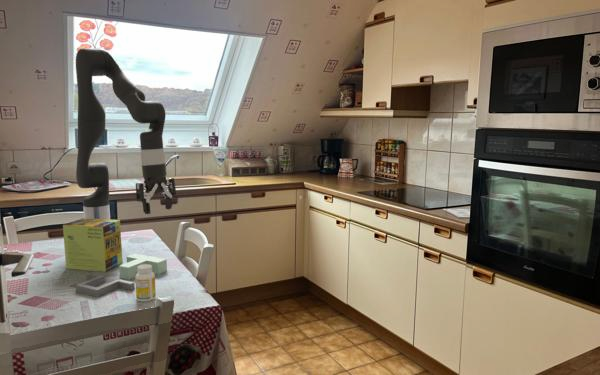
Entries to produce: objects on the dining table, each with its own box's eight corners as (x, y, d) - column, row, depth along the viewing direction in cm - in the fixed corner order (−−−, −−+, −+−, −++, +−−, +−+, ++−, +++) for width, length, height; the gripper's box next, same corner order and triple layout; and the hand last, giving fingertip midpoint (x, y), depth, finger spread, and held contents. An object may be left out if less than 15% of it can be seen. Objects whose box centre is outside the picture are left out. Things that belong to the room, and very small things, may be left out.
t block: (135, 264, 170) (135, 253, 169) (167, 270, 163) (166, 259, 163) (108, 275, 159) (107, 263, 158) (140, 282, 153) (140, 269, 152)
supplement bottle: (143, 303, 136) (141, 270, 135) (132, 298, 140) (130, 266, 138) (159, 297, 140) (158, 266, 139) (149, 293, 144) (147, 262, 142)
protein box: (106, 272, 162) (103, 226, 159) (65, 269, 165) (61, 224, 163) (123, 262, 172) (120, 219, 170) (84, 259, 175) (81, 217, 173)
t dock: (64, 288, 147) (64, 282, 147) (90, 278, 156) (90, 272, 155) (109, 299, 139) (109, 293, 139) (134, 288, 147) (134, 282, 147)
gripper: (163, 160, 167) (168, 207, 170) (127, 165, 156) (133, 214, 158) (178, 160, 163) (182, 208, 165) (142, 165, 152) (147, 216, 154)
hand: (158, 211), depth 162 cm, fingers open, 8 cm apart
